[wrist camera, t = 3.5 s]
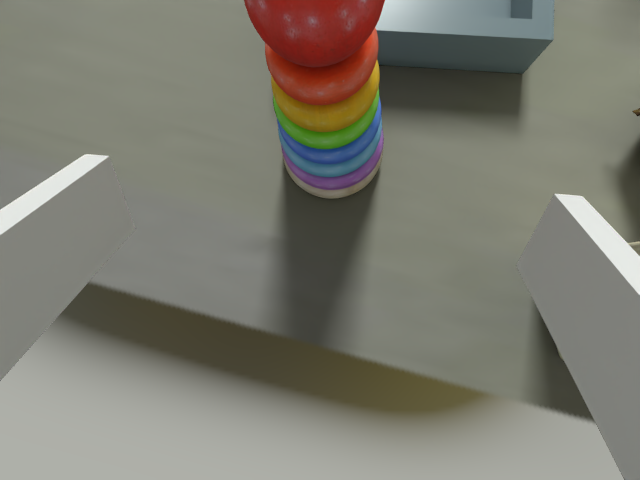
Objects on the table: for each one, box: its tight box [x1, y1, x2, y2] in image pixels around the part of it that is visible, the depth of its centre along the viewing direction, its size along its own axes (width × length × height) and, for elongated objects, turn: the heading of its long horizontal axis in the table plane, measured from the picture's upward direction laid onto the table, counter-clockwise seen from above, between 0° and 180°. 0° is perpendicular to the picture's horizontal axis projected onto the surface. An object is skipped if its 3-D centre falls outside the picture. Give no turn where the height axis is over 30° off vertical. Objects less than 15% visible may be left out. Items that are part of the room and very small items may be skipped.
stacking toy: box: [244, 0, 385, 198], centre depth 19 cm, size 8×8×19 cm
